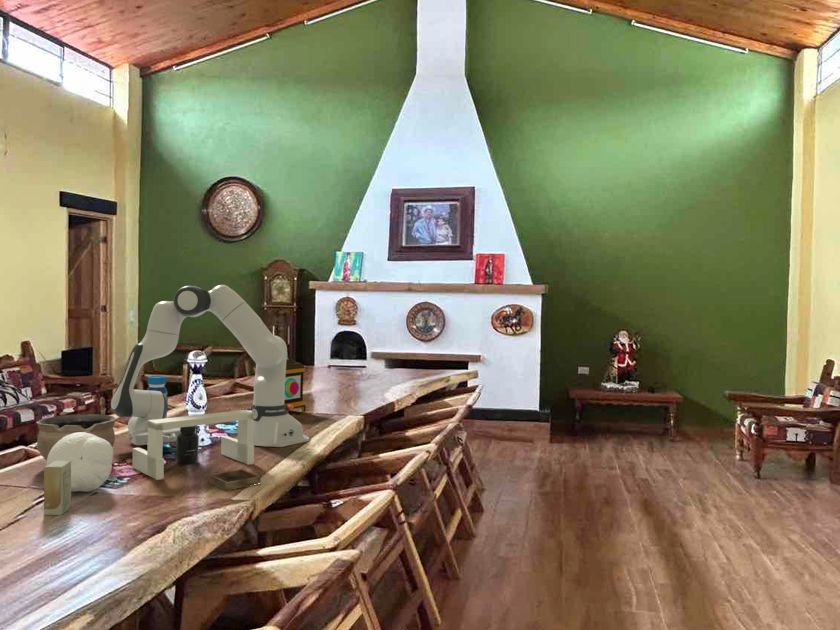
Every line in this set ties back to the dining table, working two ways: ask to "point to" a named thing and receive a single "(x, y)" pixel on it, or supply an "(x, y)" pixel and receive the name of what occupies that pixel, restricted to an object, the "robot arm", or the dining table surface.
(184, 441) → the supplement bottle
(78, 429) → the ceramic bowl
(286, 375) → the decorative lantern
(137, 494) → the dining table surface
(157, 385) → the beverage bottle
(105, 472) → the decorative orb
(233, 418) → the arch lane
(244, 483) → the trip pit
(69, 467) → the skincare box
